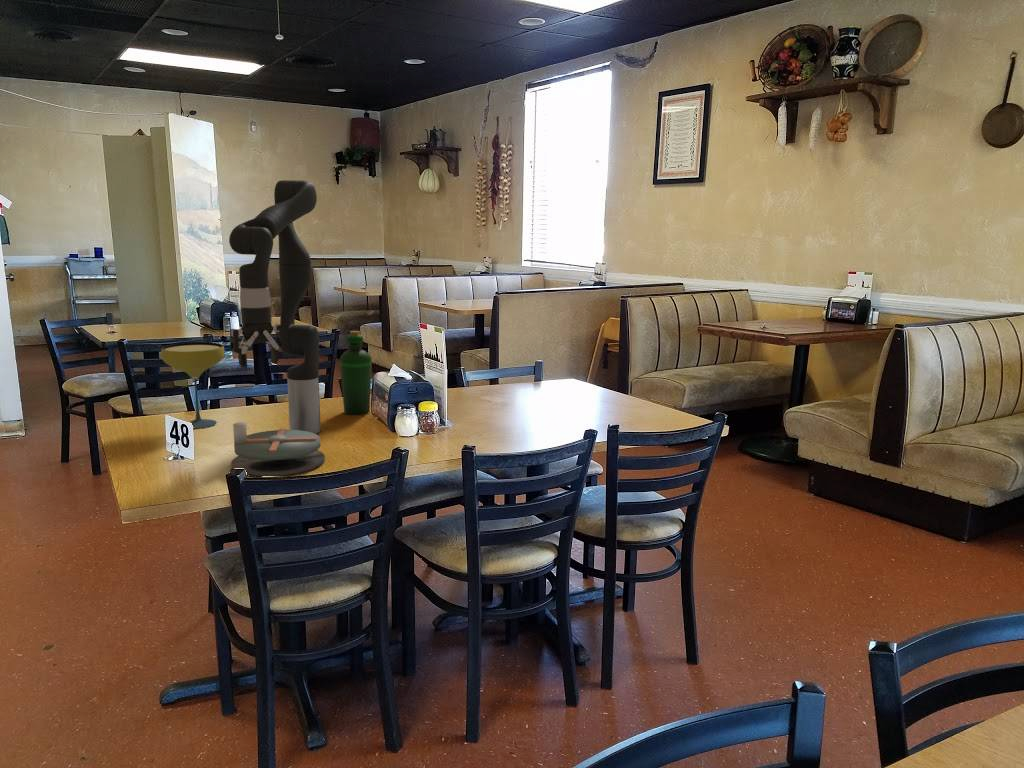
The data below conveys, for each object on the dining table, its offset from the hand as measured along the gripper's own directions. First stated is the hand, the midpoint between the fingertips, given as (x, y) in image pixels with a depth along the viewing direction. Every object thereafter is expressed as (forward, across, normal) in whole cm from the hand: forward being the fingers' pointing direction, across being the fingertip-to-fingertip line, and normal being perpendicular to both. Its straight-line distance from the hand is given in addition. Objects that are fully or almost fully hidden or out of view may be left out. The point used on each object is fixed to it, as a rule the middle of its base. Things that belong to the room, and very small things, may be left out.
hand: (259, 365), depth 195 cm
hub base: (+26, -1, +6) cm, 27 cm away
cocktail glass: (+27, -1, -45) cm, 53 cm away
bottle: (+27, -47, -26) cm, 60 cm away
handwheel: (+22, -1, +6) cm, 23 cm away
